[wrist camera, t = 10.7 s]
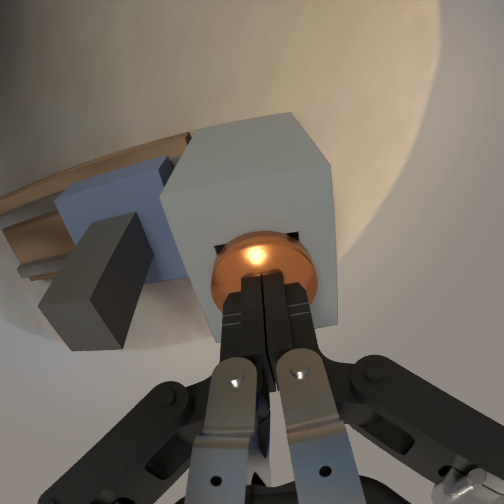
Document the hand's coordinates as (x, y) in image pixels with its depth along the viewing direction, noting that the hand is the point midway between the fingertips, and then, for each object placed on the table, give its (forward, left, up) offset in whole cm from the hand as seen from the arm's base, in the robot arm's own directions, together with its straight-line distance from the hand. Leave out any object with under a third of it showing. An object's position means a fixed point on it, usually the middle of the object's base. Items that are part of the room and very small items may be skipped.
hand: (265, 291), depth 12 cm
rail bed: (0, -13, -11) cm, 17 cm away
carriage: (0, -8, -9) cm, 12 cm away
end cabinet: (0, 0, -11) cm, 11 cm away
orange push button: (0, 0, -6) cm, 6 cm away
